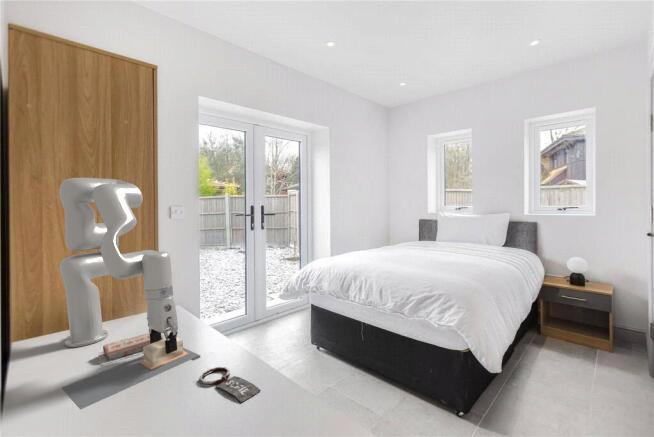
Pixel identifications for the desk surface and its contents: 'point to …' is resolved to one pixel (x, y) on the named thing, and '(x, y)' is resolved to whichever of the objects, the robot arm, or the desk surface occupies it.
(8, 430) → the desk surface
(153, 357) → the birch tile
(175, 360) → the mat
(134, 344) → the packaged product
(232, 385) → the keychain
